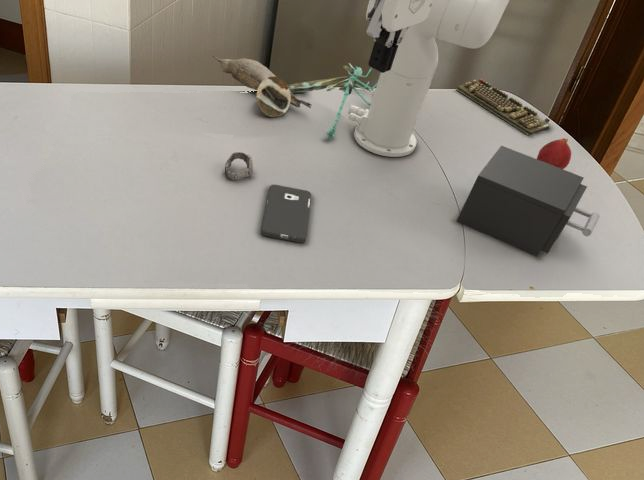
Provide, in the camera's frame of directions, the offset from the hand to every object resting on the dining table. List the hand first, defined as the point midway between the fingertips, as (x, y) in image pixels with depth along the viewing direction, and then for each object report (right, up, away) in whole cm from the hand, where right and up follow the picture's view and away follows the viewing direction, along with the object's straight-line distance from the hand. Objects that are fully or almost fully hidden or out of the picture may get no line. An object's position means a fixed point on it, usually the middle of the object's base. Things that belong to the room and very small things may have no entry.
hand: (379, 68), depth 107 cm
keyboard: (+41, +9, +49) cm, 65 cm away
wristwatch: (-22, -9, +21) cm, 32 cm away
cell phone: (-12, -19, +13) cm, 26 cm away
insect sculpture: (-4, 0, +32) cm, 32 cm away
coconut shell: (-11, +8, +35) cm, 37 cm away
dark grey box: (+29, -21, +18) cm, 40 cm away
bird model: (-13, +17, +40) cm, 46 cm away
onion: (+42, -9, +31) cm, 53 cm away
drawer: (+32, -22, +16) cm, 42 cm away
